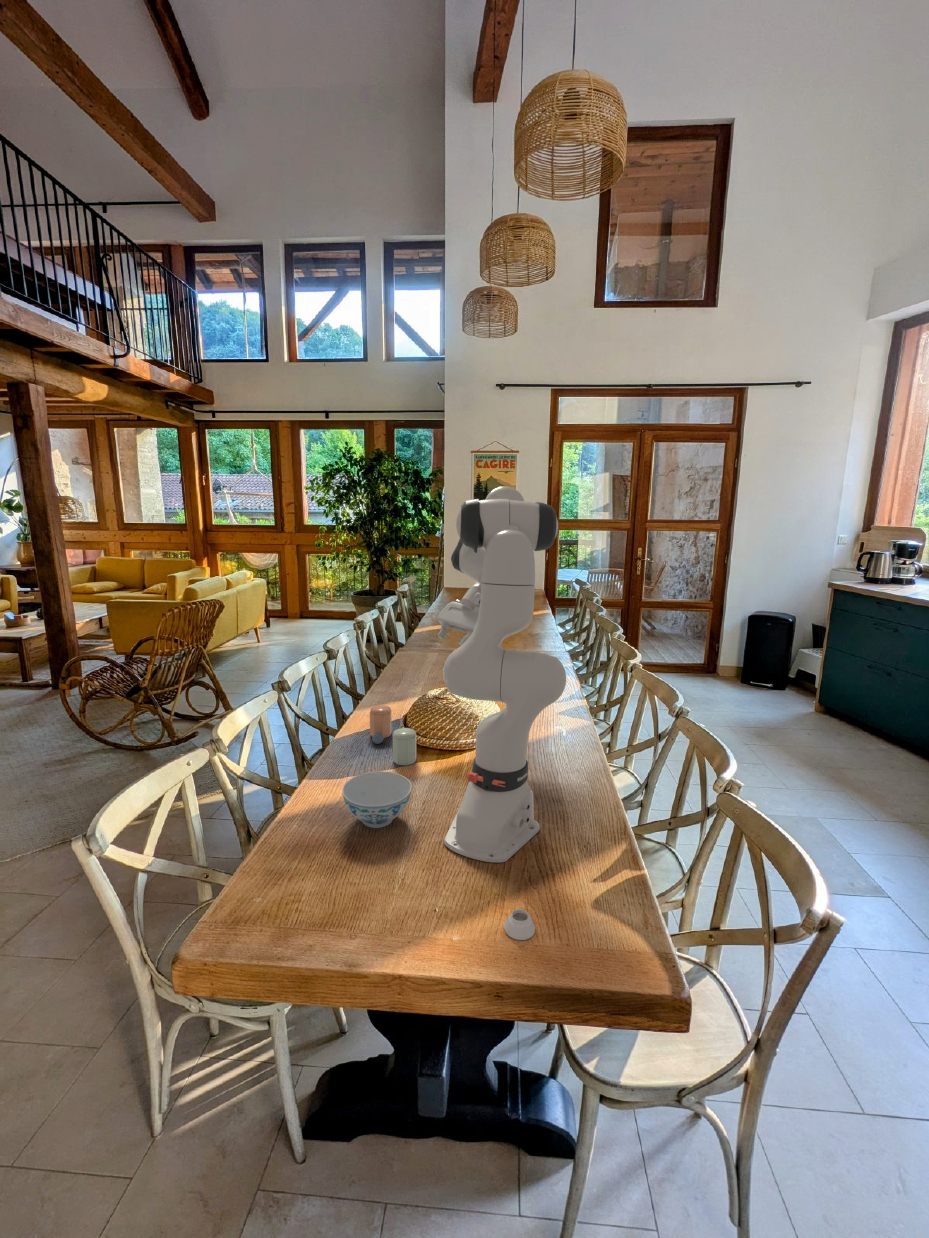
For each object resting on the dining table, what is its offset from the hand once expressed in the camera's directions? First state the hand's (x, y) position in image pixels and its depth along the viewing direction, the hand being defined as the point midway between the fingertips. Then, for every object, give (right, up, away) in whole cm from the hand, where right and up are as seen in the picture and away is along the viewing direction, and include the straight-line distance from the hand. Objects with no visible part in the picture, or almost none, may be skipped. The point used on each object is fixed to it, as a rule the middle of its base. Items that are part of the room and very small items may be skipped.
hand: (450, 640), depth 163 cm
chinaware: (-15, -38, -38) cm, 56 cm away
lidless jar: (+13, -46, -70) cm, 84 cm away
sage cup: (-12, -32, -10) cm, 36 cm away
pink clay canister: (-21, -28, +6) cm, 36 cm away
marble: (-21, -28, -1) cm, 35 cm away
